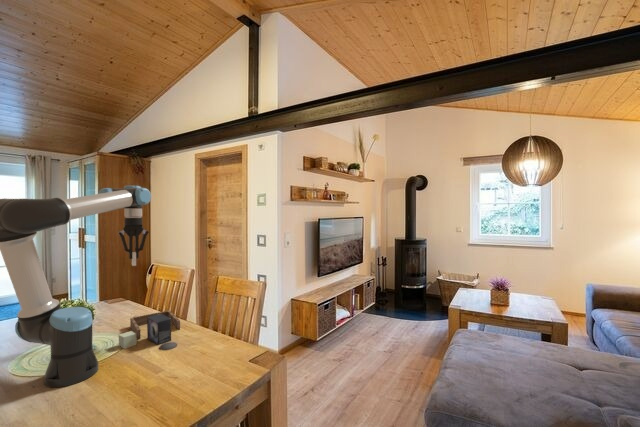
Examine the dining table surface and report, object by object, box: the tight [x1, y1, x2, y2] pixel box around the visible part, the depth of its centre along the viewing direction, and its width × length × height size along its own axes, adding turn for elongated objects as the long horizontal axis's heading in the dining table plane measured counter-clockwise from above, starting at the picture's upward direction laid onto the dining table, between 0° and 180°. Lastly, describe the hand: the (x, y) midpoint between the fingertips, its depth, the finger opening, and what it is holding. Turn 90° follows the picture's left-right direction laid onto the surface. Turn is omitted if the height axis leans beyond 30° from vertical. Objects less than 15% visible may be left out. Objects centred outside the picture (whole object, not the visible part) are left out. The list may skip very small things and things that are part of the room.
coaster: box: [159, 341, 178, 351], centre depth 132 cm, size 7×7×1 cm
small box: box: [146, 314, 172, 346], centre depth 139 cm, size 11×6×10 cm, turn 53°
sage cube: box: [118, 330, 137, 349], centre depth 134 cm, size 5×5×5 cm
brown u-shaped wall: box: [129, 309, 181, 341], centre depth 153 cm, size 20×18×4 cm
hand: (133, 265), depth 149 cm, fingers closed
